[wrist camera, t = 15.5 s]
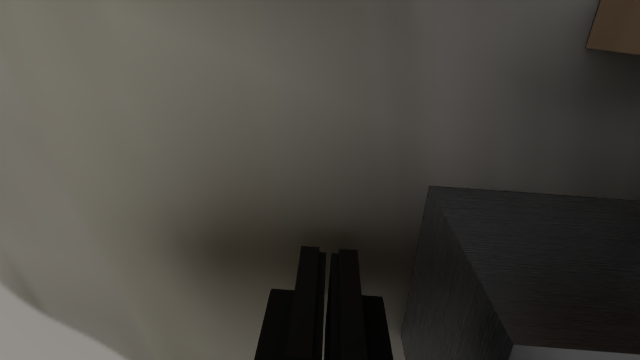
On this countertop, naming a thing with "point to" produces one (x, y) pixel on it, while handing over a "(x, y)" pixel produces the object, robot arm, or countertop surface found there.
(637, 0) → the rack
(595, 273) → the grey stone cube
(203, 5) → the countertop surface
